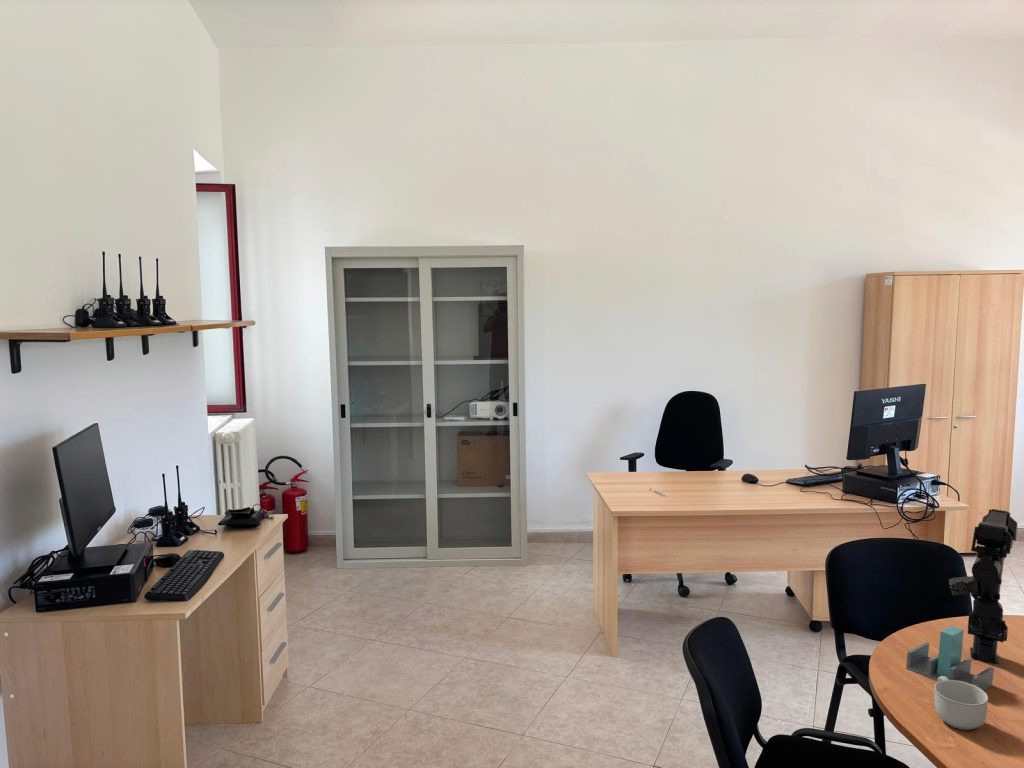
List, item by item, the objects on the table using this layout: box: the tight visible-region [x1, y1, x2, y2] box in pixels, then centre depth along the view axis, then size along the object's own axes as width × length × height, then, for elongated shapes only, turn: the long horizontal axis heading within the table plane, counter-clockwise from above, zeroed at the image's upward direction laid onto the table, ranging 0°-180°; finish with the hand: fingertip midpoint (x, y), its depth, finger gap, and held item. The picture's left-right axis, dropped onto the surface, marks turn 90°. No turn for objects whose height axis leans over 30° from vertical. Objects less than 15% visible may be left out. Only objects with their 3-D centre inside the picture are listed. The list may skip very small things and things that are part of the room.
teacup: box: [933, 676, 989, 731], centre depth 175 cm, size 14×11×8 cm
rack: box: [905, 641, 995, 692], centre depth 195 cm, size 10×17×5 cm, turn 35°
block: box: [937, 625, 965, 679], centre depth 195 cm, size 6×3×12 cm, turn 125°
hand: (982, 628), depth 195 cm, fingers open, 9 cm apart
